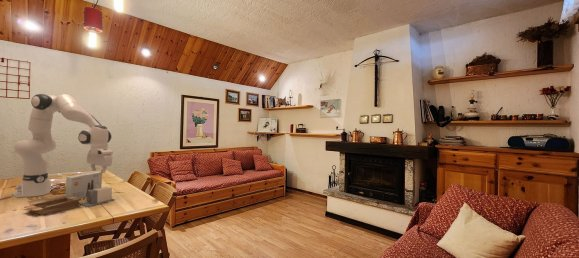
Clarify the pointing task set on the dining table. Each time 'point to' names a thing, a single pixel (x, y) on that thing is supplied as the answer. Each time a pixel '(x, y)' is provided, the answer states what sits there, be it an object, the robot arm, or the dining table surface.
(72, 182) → the skincare box
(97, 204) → the felt mat
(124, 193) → the dining table surface
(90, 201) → the box
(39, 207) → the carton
